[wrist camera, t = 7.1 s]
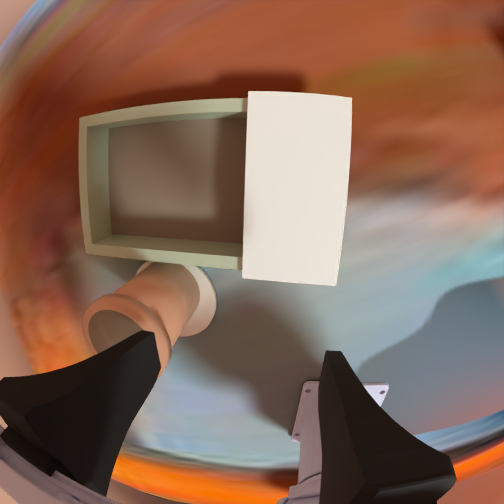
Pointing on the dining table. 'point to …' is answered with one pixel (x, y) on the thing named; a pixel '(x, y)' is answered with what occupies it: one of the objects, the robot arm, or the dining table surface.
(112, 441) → the robot arm
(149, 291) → the pot
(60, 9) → the dining table surface
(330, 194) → the box with sliding lid
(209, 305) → the saucer
